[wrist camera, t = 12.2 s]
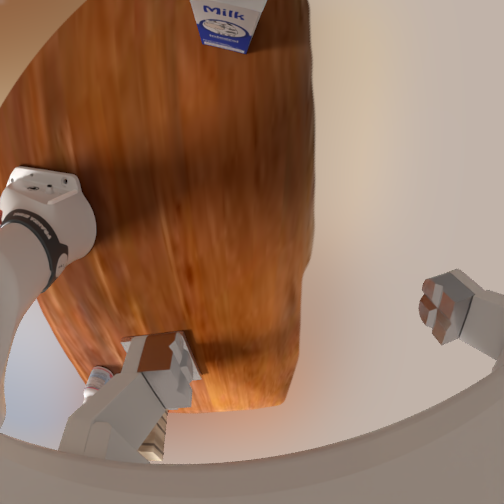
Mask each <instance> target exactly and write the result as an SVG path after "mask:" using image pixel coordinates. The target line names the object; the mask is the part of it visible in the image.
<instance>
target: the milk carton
mask: <svg viewBox="0 0 504 504" xmlns="http://www.w3.org/2000/svg"><path fill="white" fill-rule="evenodd" d="M190 2H191V6H192V9H193V13H194V16H195V20H196V23H197V26H198V30H199V33H200V37H201V40H202V44H205V45H210V46H215V47H219V48H224V49H228V50H232V51H236V52H239V53H243V54H246V53H247V50H248V47H249V45H250V42H251V39H252V37H253V34H254V31H255V29H256V26H257V24H258V21H259V19H260V16H261V13H262V11H263V9H264V7H265V4H266V2H267V0H190Z"/></svg>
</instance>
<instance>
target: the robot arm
mask: <svg viewBox="0 0 504 504" xmlns="http://www.w3.org/2000/svg"><path fill="white" fill-rule="evenodd" d="M13 179H14V181H13ZM66 179H67V183H66V181H65V180H66ZM95 238H96V221H95V216H94V213H93V210H92V208H91V206H90V204H89V203H88V201H87V200H86V198H85V197H84V195H83V193H82V190H81V186H80V182H79V179H78V177H77V176H76V175H74V174H69V173H63V172H56V171H50V170H44V169H37V168H30V167H23V166H18V167H16V168H15V169H14V170H13V172H12V173H11V175H10V177H9V180H8V183H7V187H6V188H5V189H4V191H3V193H2V196H1V199H0V428H1V426H2V424H3V422H4V420H5V415H6V404H5V396H4V379H5V372H6V366H7V361H8V358H9V354H10V350H11V346H12V343H13V339H14V336H15V333H16V331H17V328H18V326H19V323H20V322H21V320H22V318H23V316H24V314H25V313H26V312H27V310H28V309H29V308H30V306H31V305H32V303H33V302H34V301H35V299H36V298H37V297H38V296H39V294H40V293H43V292H44V291H46V290H47V289H48V288H49V287H50V286H51V284H52V283H53V282H54V281H55V280H56V279H57V278H58V276H59V275H60V274H61V273H62V271H63V270H64V268H65V267H66V266H67V265H68V264H70V263H71V262H73V261H75V260H77V259H80V258H82V257H84V256H85V255H86V254H87V253H88V252H89V251H90V250H91V248H92V246H93V244H94V242H95ZM422 291H423V292H424V295H423V297H422V298H421V300H420V303H419V314H420V317H421V319H422V321H423V323H424V324H425V325H426V326H429V327H431V328H432V334H433V335H434V336H435V338H436V339H437V340H438V341H439V343H440V344H441V345H444V344H445V343H448V342H451V341H453V340H455V339H458V338H459V339H460V340H462V341H464V342H465V343H467V344H469V345H470V346H472V347H474V348H476V349H478V350H479V351H481V352H483V353H485V354H487V355H488V356H490V357H492V358H494V359H495V360H497V361H496V363H495V365H494V367H493V369H492V373H491V374H490V375H488V376H487V377H485V378H483V379H482V380H480V381H479V382H477V383H475V384H474V385H472V386H470V387H469V388H467V389H465V390H463V391H461V392H460V393H458V394H456V395H454V396H452V397H451V398H449V399H447V400H445V401H443V402H441V403H439V404H437V405H435V406H433V407H431V408H429V409H426V410H424V411H422V412H420V413H418V414H415V415H413V416H411V417H408V418H406V419H404V420H401V421H399V422H397V423H394V424H391V425H389V426H386V427H383V428H381V429H378V430H375V431H372V432H369V433H366V434H364V435H360V436H357V437H354V438H351V439H347V440H344V441H341V442H337V443H333V444H330V445H326V446H322V447H318V448H314V449H310V450H305V451H301V452H296V453H291V454H285V455H280V456H275V457H268V458H261V459H254V460H246V461H236V462H225V463H209V464H150V462H149V461H148V460H147V459H146V458H145V457H144V456H143V455H141V454H140V453H139V452H138V451H137V450H138V449H139V447H140V446H141V444H142V443H143V442H144V440H145V439H146V437H147V436H148V435H149V433H150V432H151V431H152V429H153V428H154V426H155V425H156V424H157V422H158V421H159V419H160V418H161V416H162V415H163V414H164V412H165V411H166V410H165V409H174V408H185V407H191V401H192V389H191V387H190V385H189V383H190V382H191V381H192V380H193V364H192V360H191V357H190V354H189V352H188V351H187V350H185V349H184V348H183V345H184V340H183V338H182V336H181V334H180V333H179V332H174V333H164V334H154V335H145V336H135V337H134V338H132V340H131V343H130V346H129V349H128V352H127V355H126V358H125V361H124V364H123V368H122V371H121V373H119V374H116V375H115V376H113V377H112V378H111V379H110V380H109V381H108V382H107V383H106V384H105V385H104V386H103V387H101V388H100V389H99V390H98V391H97V392H96V393H95V394H94V395H93V396H92V397H91V398H89V399H88V400H87V401H86V402H85V403H84V404H83V405H82V406H81V407H80V408H79V409H77V410H76V411H75V412H74V413H73V414H72V415H71V416H70V417H69V418H68V421H67V424H66V427H65V430H64V433H63V436H62V439H61V442H60V446H59V449H58V451H57V450H53V449H49V448H46V447H41V446H38V445H35V444H31V443H28V442H25V441H22V440H19V439H16V438H13V437H10V436H7V435H4V434H2V433H0V504H504V295H502V294H499V293H496V292H493V291H490V290H486V291H485V290H483V289H482V288H481V287H480V286H479V285H478V284H477V283H475V282H474V281H473V280H472V279H471V278H470V277H468V276H467V275H466V274H465V273H464V272H462V271H461V270H459V269H455V270H452V271H449V272H447V273H444V274H441V275H438V276H435V277H432V278H429V279H426V280H425V282H424V283H423V287H422Z"/></svg>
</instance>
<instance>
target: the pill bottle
mask: <svg viewBox="0 0 504 504" xmlns="http://www.w3.org/2000/svg"><path fill="white" fill-rule="evenodd" d="M113 376H114V375H113V374H112V372H111V371H110V370H108V369H106V368H104V367H100V366H96V367H94V368H93V369H92V371H91V374H90V376H89V379H88V382H87V384H86V387H85V390H84V397H85V399H84V402H83V404H84V403H85V402H86V401H87V400H88V399H89V398H91V397H92V396H93V395H94V394H95V393H96V392H97V391H98V390H99V389H100V388H101V387H103V386H104V385H105V384H106V383H107V382H108V381H109V380H110V379H111V378H112V377H113Z"/></svg>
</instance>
